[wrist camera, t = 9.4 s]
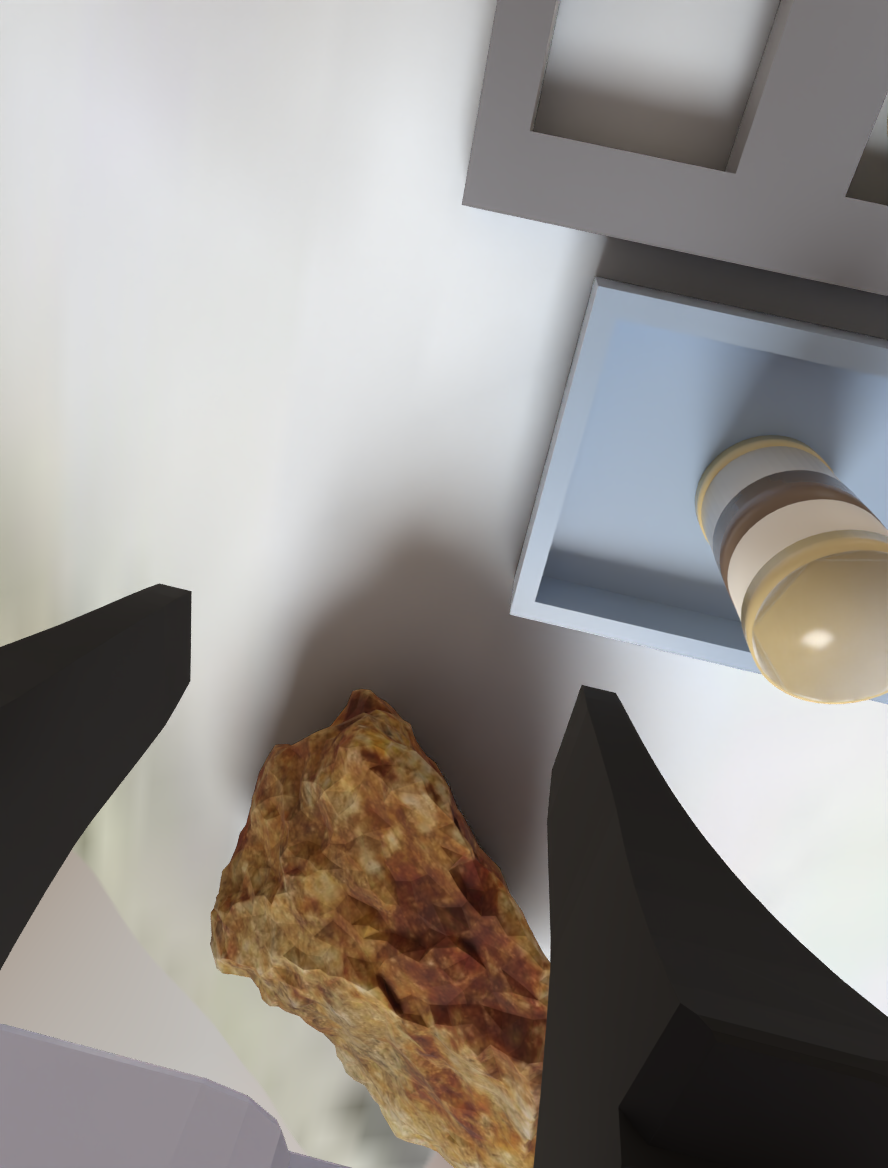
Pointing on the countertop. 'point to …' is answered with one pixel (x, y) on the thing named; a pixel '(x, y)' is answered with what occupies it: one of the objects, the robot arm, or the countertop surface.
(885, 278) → the fuse block
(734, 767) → the countertop surface
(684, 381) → the parts tray
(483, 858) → the rock
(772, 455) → the scorched fuse
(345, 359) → the countertop surface
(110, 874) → the countertop surface
